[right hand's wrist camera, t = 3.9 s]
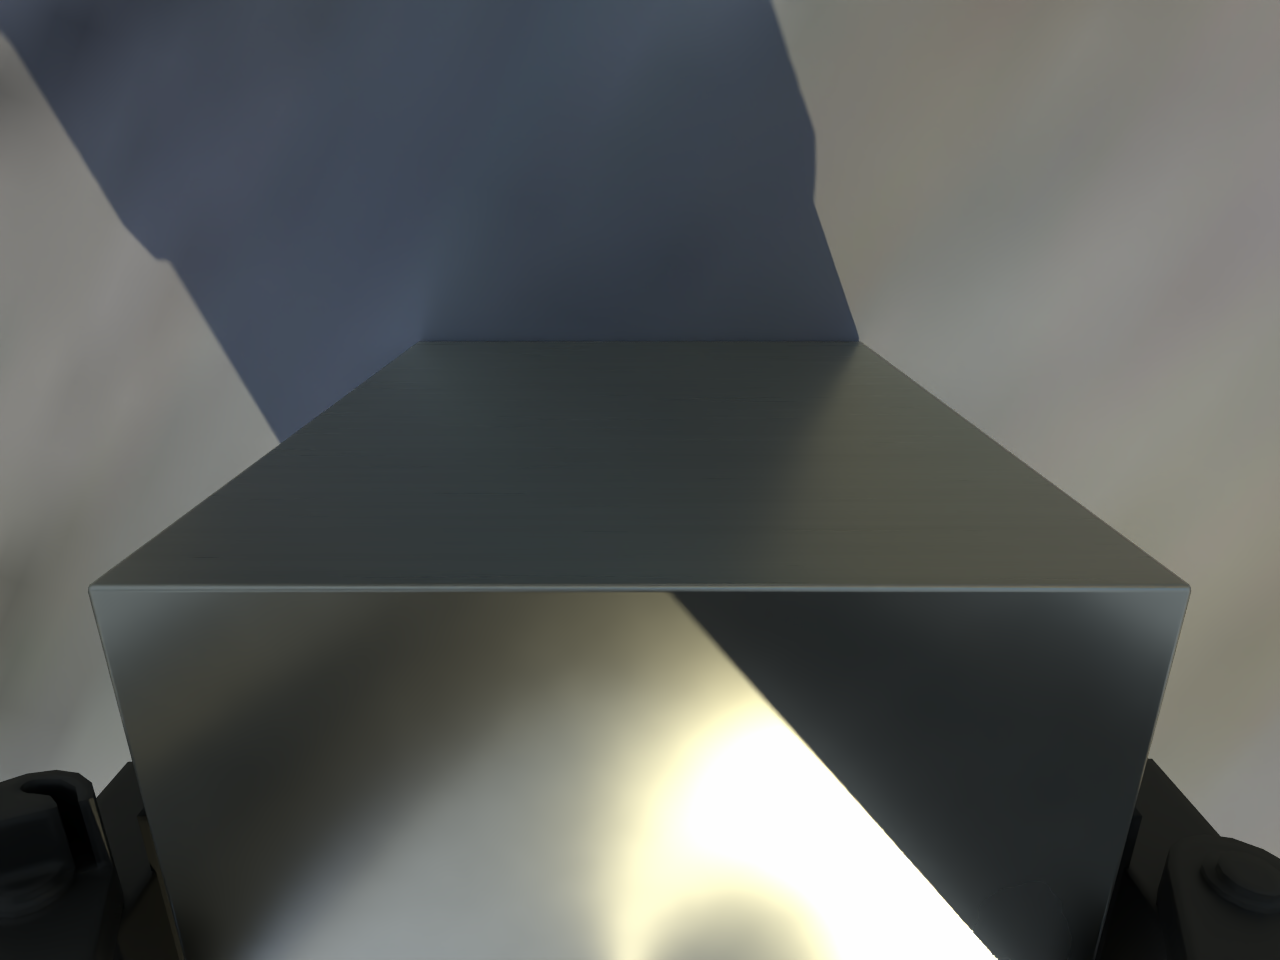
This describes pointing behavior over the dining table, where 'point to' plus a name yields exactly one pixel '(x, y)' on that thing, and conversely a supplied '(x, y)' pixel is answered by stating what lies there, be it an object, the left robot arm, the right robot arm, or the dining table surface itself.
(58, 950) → the right robot arm
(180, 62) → the dining table surface
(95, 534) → the dining table surface
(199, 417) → the dining table surface
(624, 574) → the block
